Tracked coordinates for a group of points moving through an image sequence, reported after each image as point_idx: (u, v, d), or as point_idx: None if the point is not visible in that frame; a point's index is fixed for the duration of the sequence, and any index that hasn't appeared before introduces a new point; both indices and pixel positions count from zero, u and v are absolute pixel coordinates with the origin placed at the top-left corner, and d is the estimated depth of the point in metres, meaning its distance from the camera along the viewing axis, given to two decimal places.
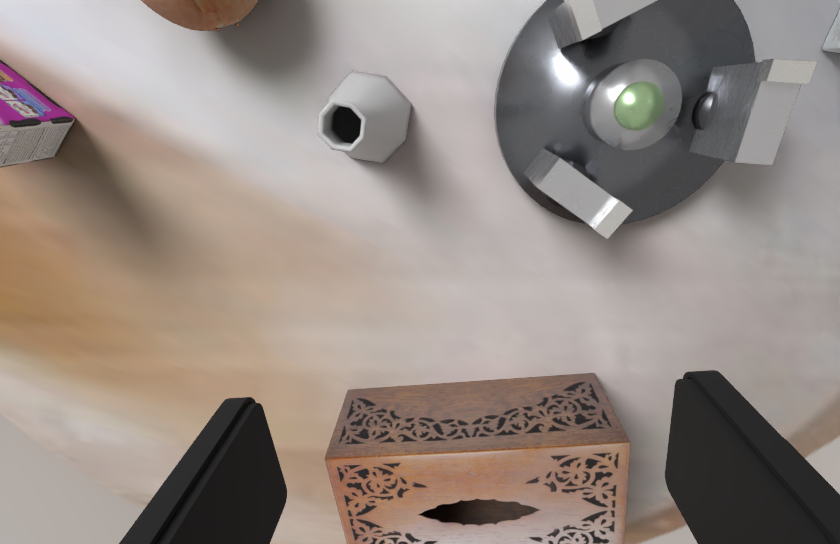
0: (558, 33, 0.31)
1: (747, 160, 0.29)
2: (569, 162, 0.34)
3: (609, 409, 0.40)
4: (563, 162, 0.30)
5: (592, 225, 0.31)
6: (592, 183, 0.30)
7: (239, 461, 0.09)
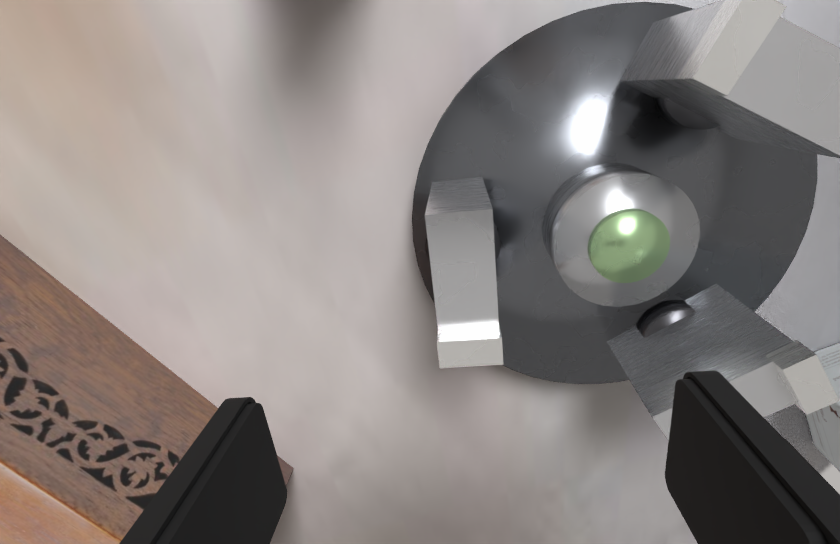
0: (645, 56, 0.18)
1: (664, 427, 0.19)
2: None
3: None
4: (490, 219, 0.16)
5: (440, 333, 0.18)
6: (494, 283, 0.17)
7: (239, 461, 0.09)
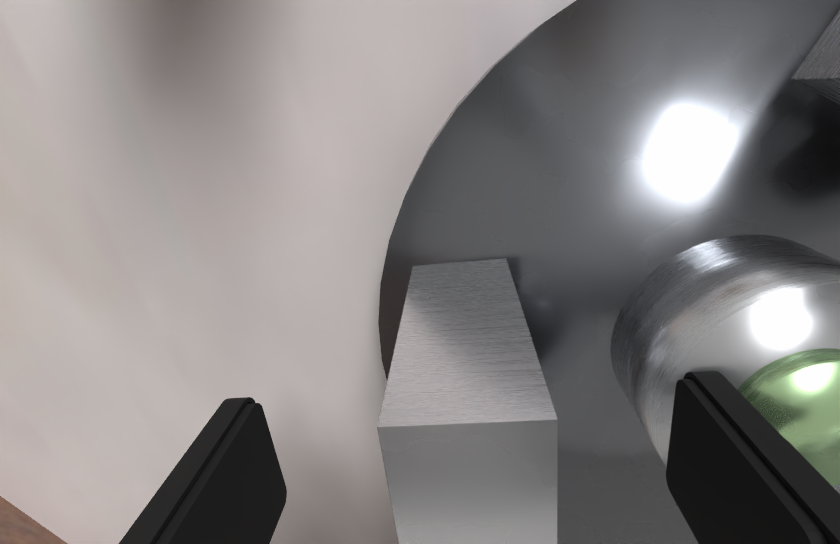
0: None
1: None
2: None
3: None
4: (549, 441, 0.06)
5: None
6: None
7: (239, 461, 0.09)
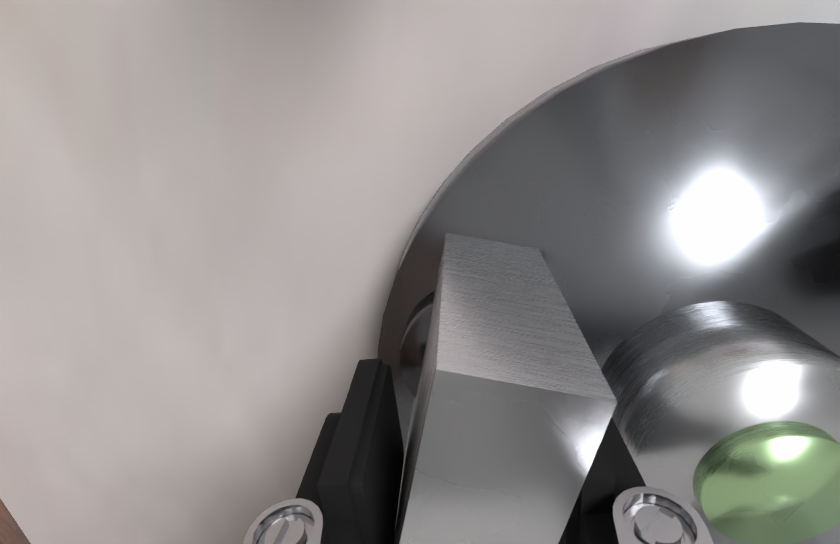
0: None
1: None
2: None
3: None
4: (599, 422, 0.06)
5: None
6: None
7: (385, 412, 0.10)
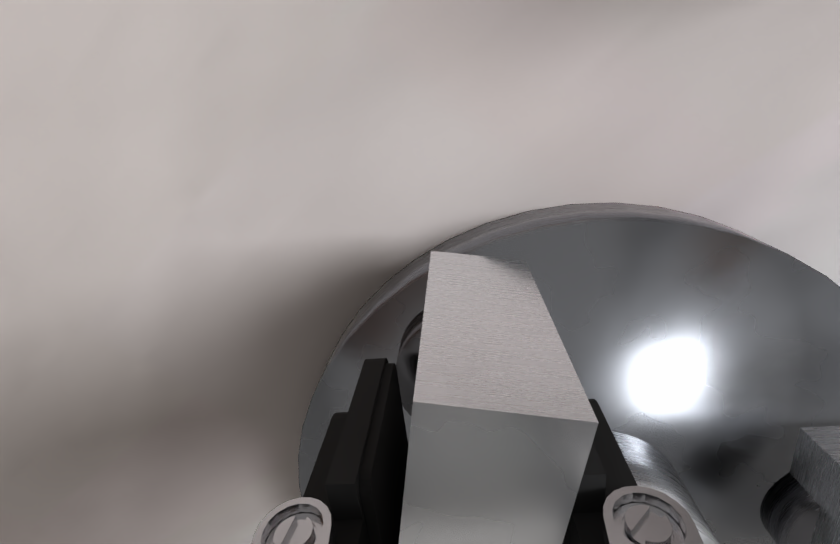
0: None
1: None
2: None
3: None
4: (583, 443, 0.06)
5: None
6: None
7: (391, 411, 0.10)
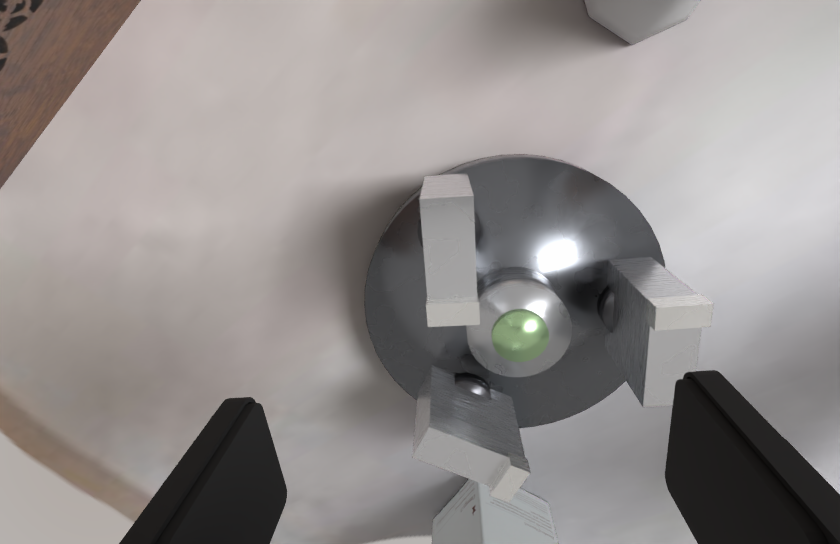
0: (634, 267, 0.25)
1: (426, 437, 0.25)
2: (474, 214, 0.25)
3: None
4: (471, 204, 0.20)
5: (429, 298, 0.22)
6: (473, 257, 0.21)
7: (239, 461, 0.09)
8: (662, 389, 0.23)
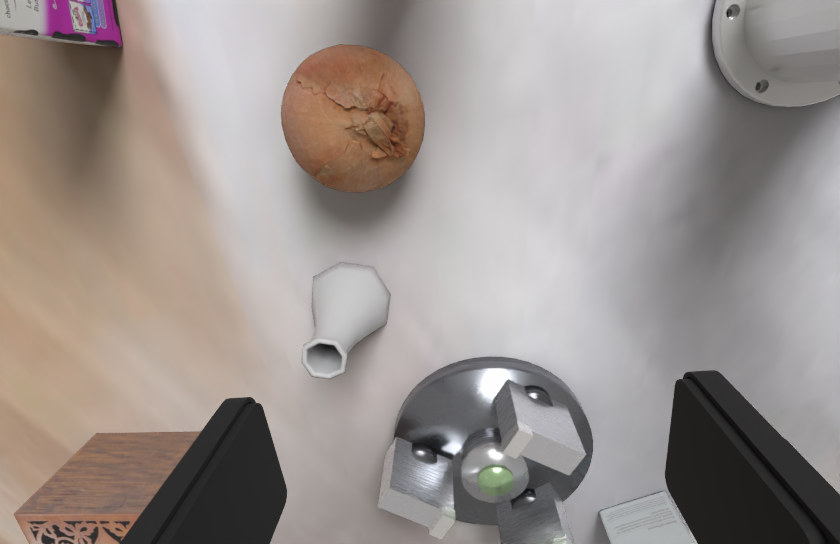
0: (501, 400, 0.39)
1: None
2: (416, 452, 0.41)
3: None
4: (393, 490, 0.37)
5: (429, 527, 0.38)
6: (420, 501, 0.37)
7: (239, 461, 0.09)
8: (563, 463, 0.35)
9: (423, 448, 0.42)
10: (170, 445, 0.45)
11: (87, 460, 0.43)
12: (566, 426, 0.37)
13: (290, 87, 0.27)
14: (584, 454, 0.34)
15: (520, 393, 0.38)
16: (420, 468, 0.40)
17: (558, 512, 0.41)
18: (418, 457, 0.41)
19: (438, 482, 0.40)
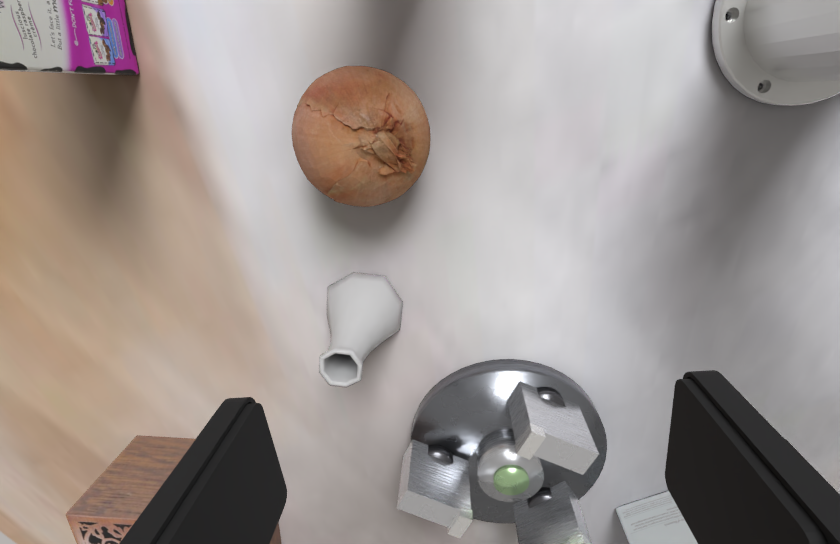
0: (514, 402, 0.39)
1: None
2: (433, 454, 0.42)
3: None
4: (411, 492, 0.38)
5: None
6: (437, 502, 0.38)
7: (239, 461, 0.09)
8: (576, 462, 0.36)
9: (439, 450, 0.43)
10: None
11: (131, 463, 0.45)
12: (579, 427, 0.37)
13: (300, 110, 0.28)
14: (597, 454, 0.35)
15: (532, 395, 0.39)
16: (437, 469, 0.41)
17: (574, 510, 0.41)
18: (434, 458, 0.42)
19: (454, 482, 0.41)
